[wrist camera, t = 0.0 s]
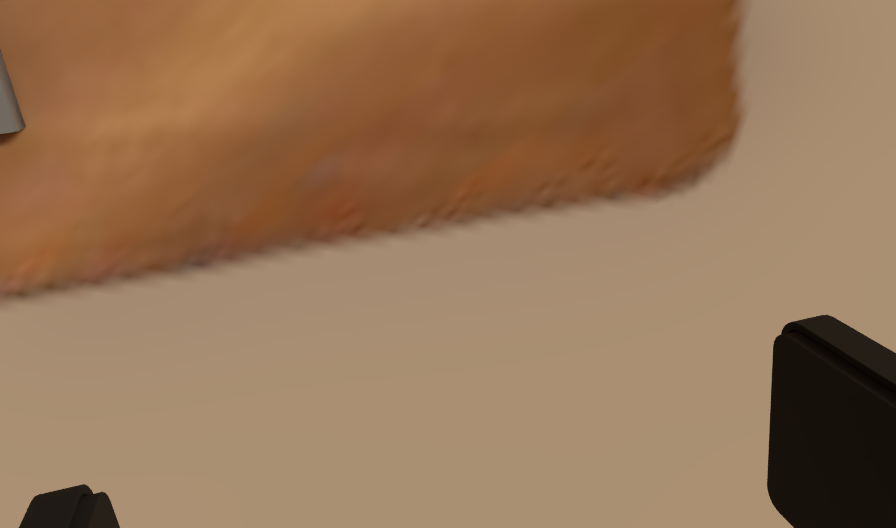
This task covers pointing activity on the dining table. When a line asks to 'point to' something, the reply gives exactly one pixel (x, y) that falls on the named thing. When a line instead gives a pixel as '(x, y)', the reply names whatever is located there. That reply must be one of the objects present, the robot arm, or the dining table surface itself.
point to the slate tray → (8, 104)
